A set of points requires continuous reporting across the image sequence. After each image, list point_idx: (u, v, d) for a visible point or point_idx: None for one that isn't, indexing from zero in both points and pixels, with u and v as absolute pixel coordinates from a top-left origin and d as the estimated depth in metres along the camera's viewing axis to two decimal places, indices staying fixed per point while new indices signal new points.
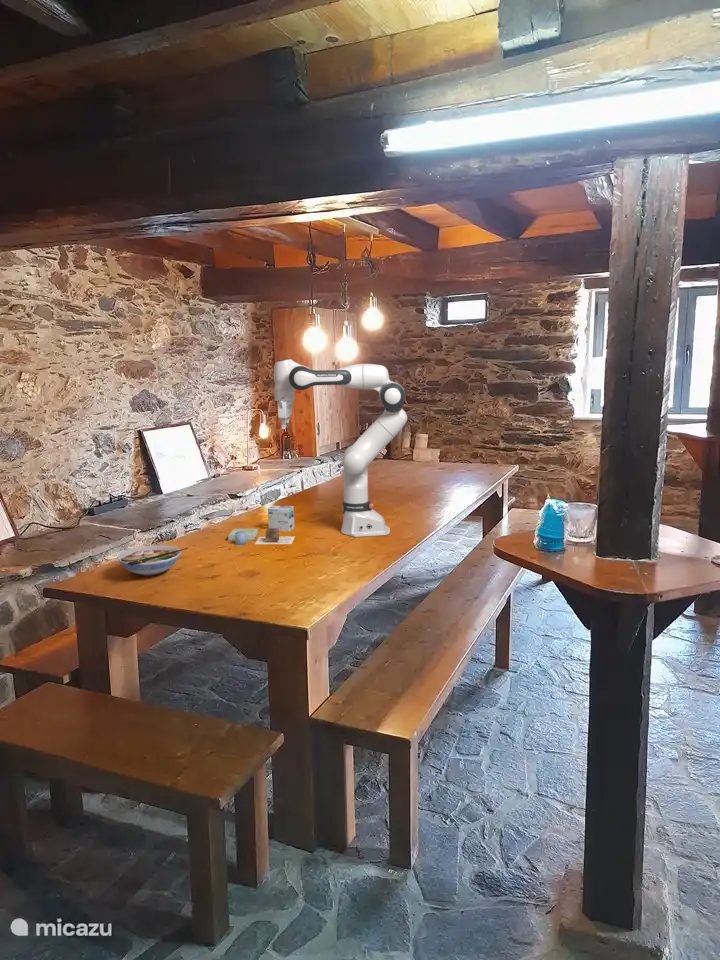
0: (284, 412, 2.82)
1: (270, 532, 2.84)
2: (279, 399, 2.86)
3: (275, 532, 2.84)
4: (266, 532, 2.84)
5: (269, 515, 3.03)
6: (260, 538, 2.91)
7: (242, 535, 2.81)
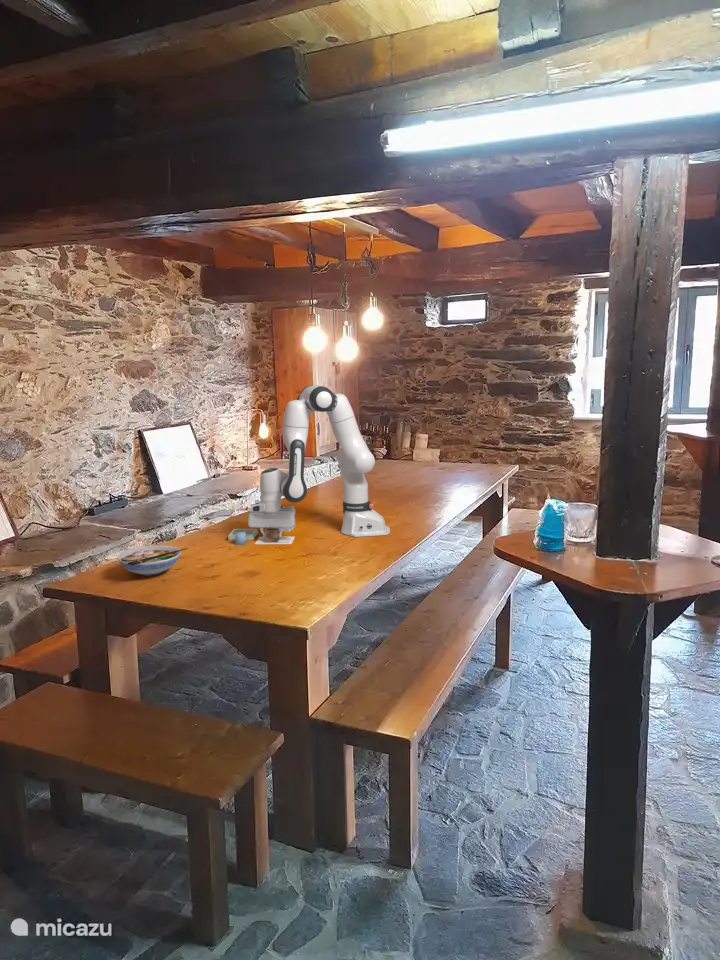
0: (294, 519, 2.86)
1: (270, 532, 2.84)
2: (279, 509, 2.82)
3: (275, 532, 2.84)
4: (266, 532, 2.84)
5: None
6: (260, 538, 2.91)
7: (242, 535, 2.81)
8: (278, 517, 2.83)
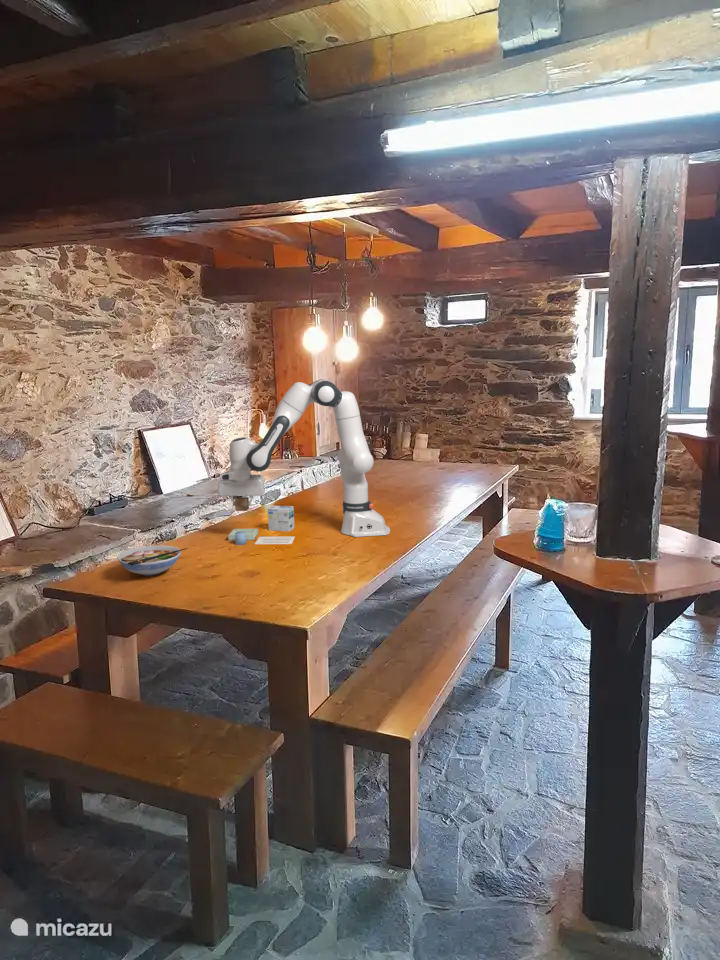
0: None
1: (239, 500, 2.88)
2: (249, 477, 2.87)
3: (244, 500, 2.88)
4: (235, 500, 2.88)
5: (269, 515, 3.03)
6: (260, 538, 2.91)
7: (242, 535, 2.81)
8: (247, 485, 2.88)
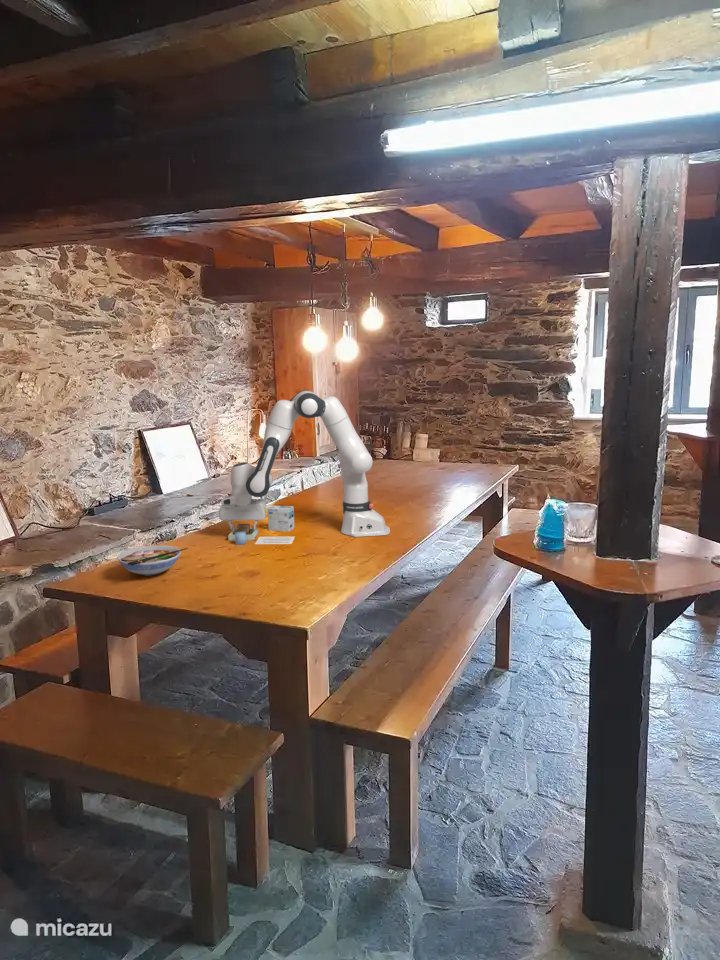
0: None
1: (241, 527, 2.90)
2: (250, 502, 2.89)
3: (246, 527, 2.90)
4: (237, 527, 2.90)
5: (269, 515, 3.03)
6: (260, 538, 2.91)
7: (242, 535, 2.81)
8: (248, 510, 2.90)
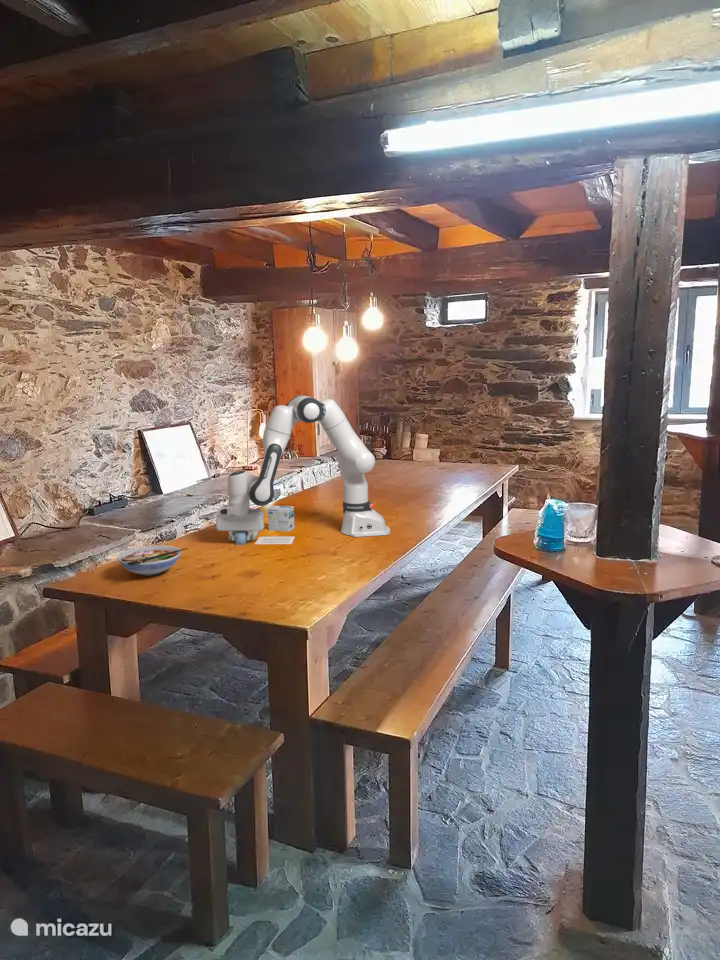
0: (263, 522, 2.83)
1: None
2: (248, 512, 2.79)
3: None
4: None
5: (269, 515, 3.03)
6: (260, 538, 2.91)
7: (242, 535, 2.81)
8: (246, 520, 2.80)
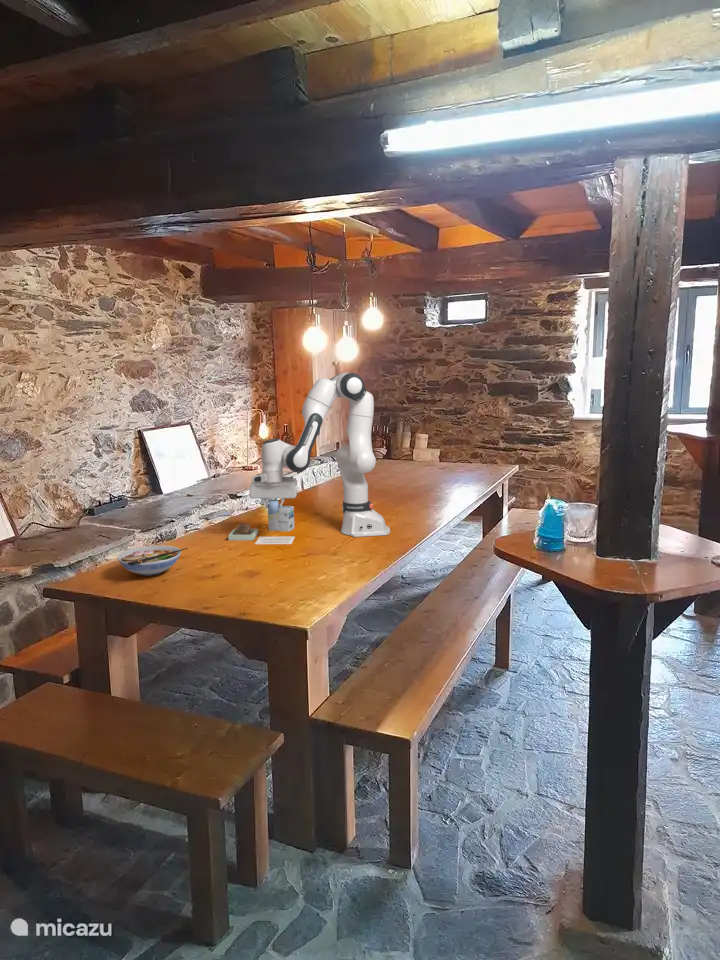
0: (296, 490, 2.85)
1: (241, 527, 2.90)
2: (281, 479, 2.81)
3: (246, 527, 2.90)
4: (237, 527, 2.90)
5: (269, 515, 3.03)
6: (260, 538, 2.91)
7: (275, 503, 2.83)
8: (279, 488, 2.82)
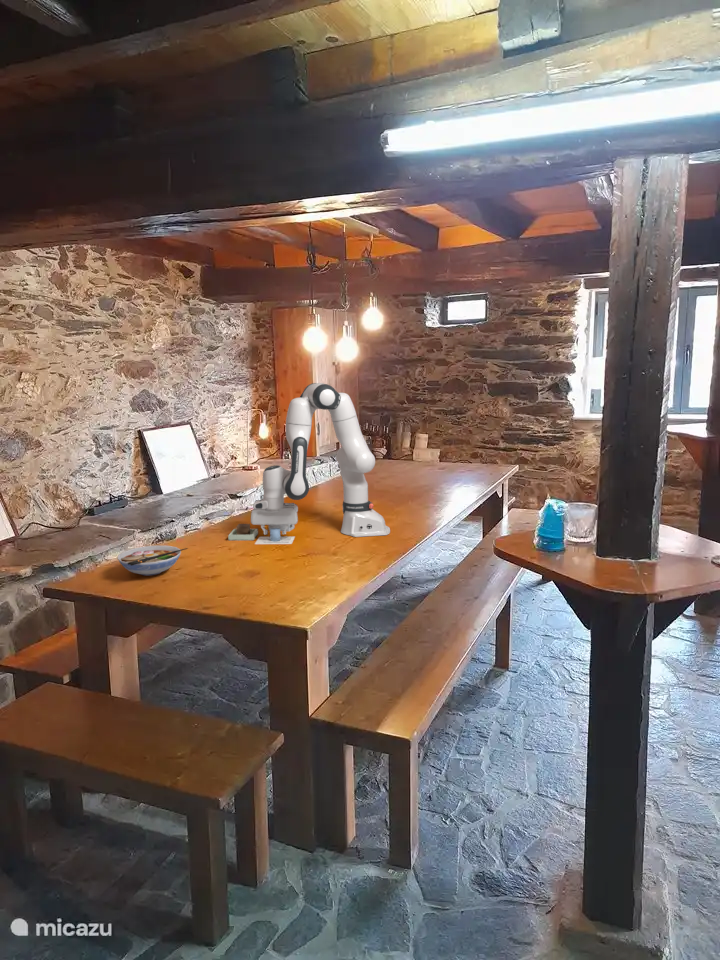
0: (297, 516, 2.87)
1: (241, 527, 2.90)
2: (282, 506, 2.83)
3: (246, 527, 2.90)
4: (237, 527, 2.90)
5: None
6: (260, 538, 2.91)
7: (277, 531, 2.85)
8: (280, 514, 2.84)
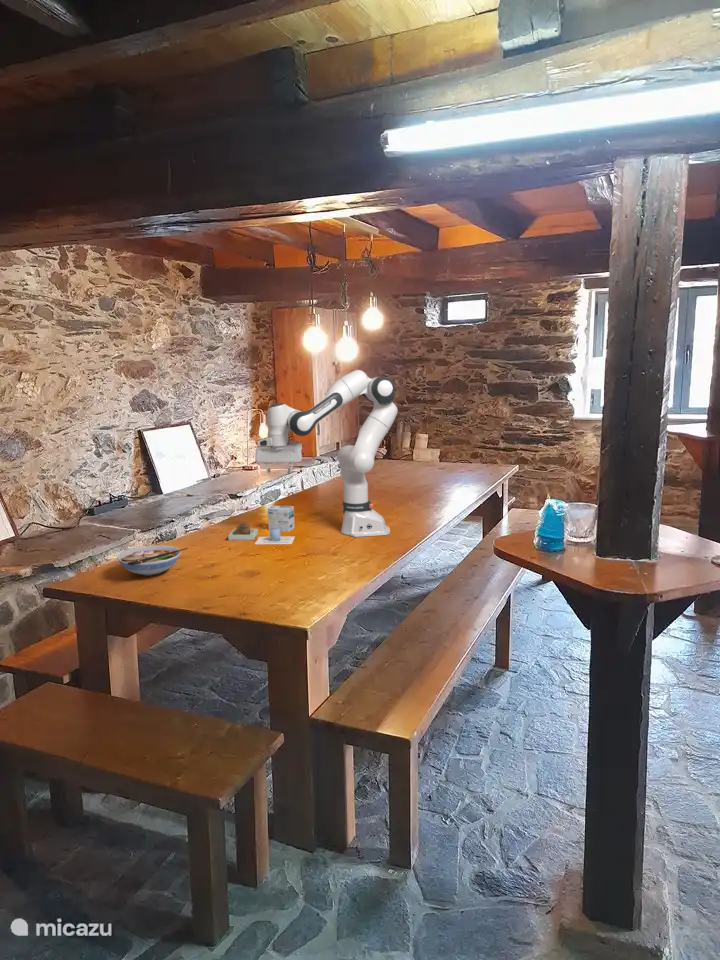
0: (301, 454, 2.88)
1: (241, 527, 2.90)
2: (286, 443, 2.84)
3: (246, 527, 2.90)
4: (237, 527, 2.90)
5: (269, 515, 3.03)
6: (260, 538, 2.91)
7: (277, 531, 2.85)
8: (285, 452, 2.85)
